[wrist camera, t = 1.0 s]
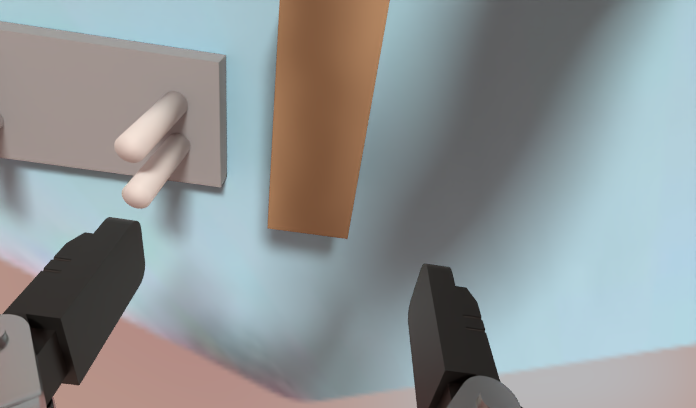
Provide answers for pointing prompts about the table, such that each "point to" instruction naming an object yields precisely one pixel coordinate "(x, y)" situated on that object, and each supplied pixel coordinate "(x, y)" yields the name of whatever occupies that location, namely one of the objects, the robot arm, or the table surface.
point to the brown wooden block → (322, 110)
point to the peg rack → (113, 108)
